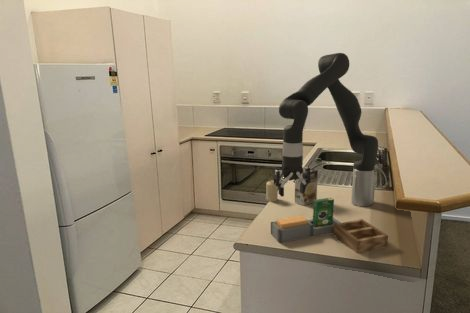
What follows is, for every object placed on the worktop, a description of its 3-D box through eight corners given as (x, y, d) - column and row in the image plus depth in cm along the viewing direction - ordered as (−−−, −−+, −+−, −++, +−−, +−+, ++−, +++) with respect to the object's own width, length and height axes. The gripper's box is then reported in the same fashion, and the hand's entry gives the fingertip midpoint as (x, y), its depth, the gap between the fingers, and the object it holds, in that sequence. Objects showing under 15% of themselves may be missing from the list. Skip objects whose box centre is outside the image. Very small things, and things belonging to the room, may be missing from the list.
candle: (266, 197, 181) (266, 178, 178) (277, 197, 180) (277, 179, 177) (266, 201, 175) (266, 182, 173) (277, 201, 175) (277, 182, 172)
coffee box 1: (303, 206, 168) (304, 174, 164) (294, 202, 173) (294, 170, 169) (317, 201, 173) (318, 170, 169) (307, 198, 178) (308, 167, 174)
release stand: (331, 222, 150) (331, 211, 149) (342, 231, 142) (343, 219, 141) (270, 233, 142) (270, 221, 141) (279, 243, 134) (279, 231, 133)
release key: (301, 225, 143) (301, 215, 142) (306, 230, 139) (307, 220, 138) (276, 230, 140) (276, 219, 139) (281, 235, 136) (281, 224, 135)
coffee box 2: (329, 226, 147) (330, 196, 143) (333, 229, 144) (334, 199, 141) (312, 229, 144) (312, 199, 141) (315, 232, 142) (316, 202, 138)
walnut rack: (361, 229, 143) (362, 219, 142) (387, 246, 129) (388, 235, 128) (333, 234, 139) (333, 224, 138) (356, 253, 126) (357, 241, 124)
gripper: (304, 149, 137) (303, 189, 141) (271, 153, 133) (270, 193, 137) (314, 154, 130) (313, 195, 134) (279, 157, 126) (278, 200, 130)
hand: (291, 194), depth 136 cm, fingers open, 8 cm apart
